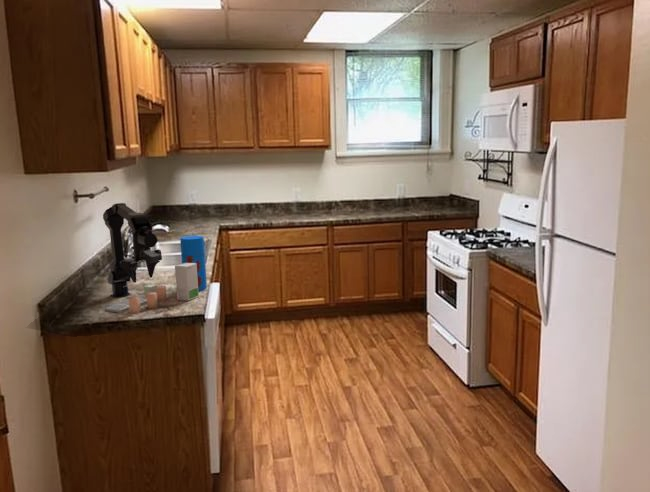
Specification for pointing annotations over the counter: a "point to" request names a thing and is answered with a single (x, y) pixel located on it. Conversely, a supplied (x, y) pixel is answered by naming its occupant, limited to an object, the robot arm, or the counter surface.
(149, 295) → the salmon pink egg
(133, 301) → the peach colored egg
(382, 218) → the counter surface
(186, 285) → the skincare box
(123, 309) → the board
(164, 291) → the glossy pink ovoid
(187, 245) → the thermos
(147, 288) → the pale green block
